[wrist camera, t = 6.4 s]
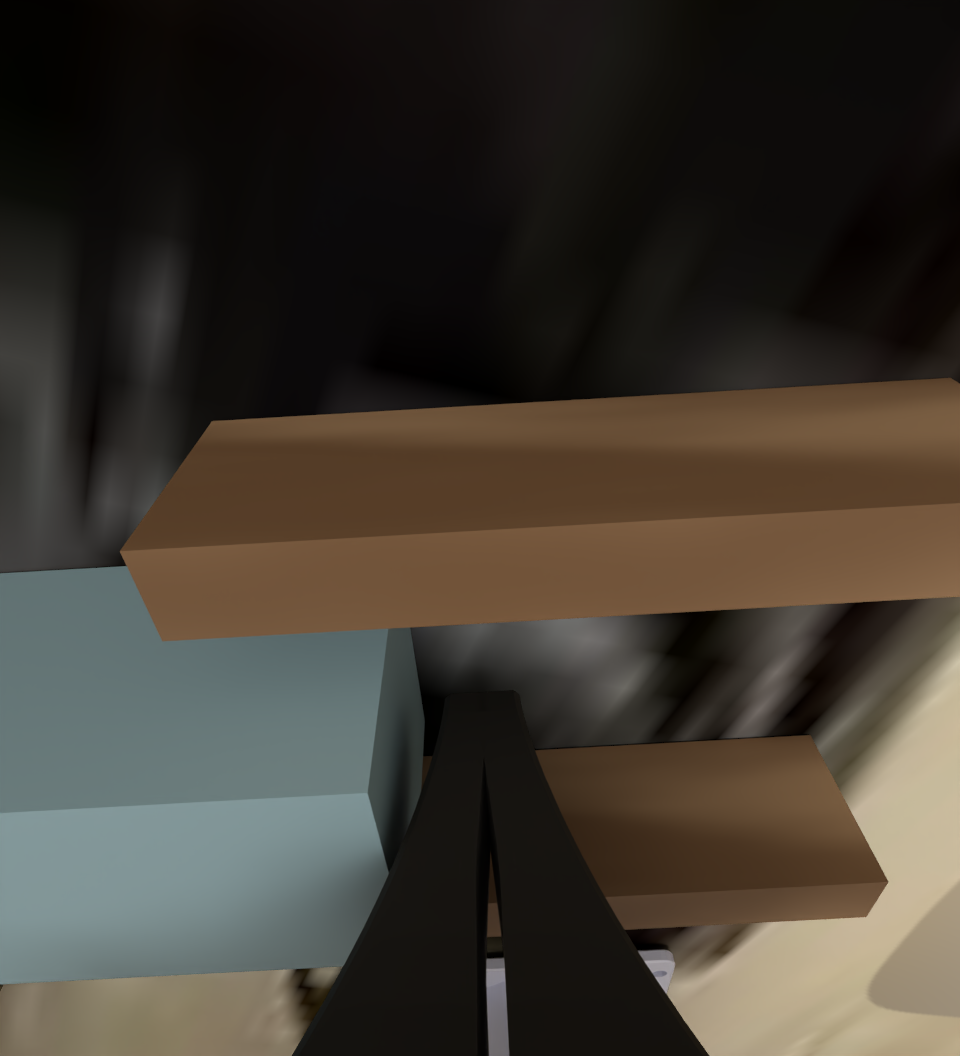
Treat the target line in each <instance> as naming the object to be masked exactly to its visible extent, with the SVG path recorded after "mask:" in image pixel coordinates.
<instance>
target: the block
mask: <svg viewBox="0 0 960 1056" xmlns="http://www.w3.org/2000/svg"><path fill="white" fill-rule="evenodd" d="M424 727H425V719H424V712H423V706H422V699H421V693H420V687H419V680H418V674H417V668H416V661H415V655H414V648H413V642H412V636H411V629H410V627H409V628H391V629H373V630H356V631H338V632H320V633H302V634H285V635H267V636H249V637H232V638H214V639H196V640H178V641H162V639H161V637H160V635H159V633H158V631H157V629H156V627H155V625H154V623H153V620H152V618H151V616H150V614H149V612H148V610H147V608H146V606H145V603H144V601H143V599H142V597H141V595H140V593H139V591H138V589H137V587H136V584H135V582H134V580H133V578H132V576H131V574H130V572H129V570H128V567H127V566H120V567H103V568H85V569H68V570H50V571H33V572H15V573H0V984H18V983H36V982H55V981H74V980H93V979H112V978H131V977H150V976H169V975H188V974H207V973H226V972H245V971H264V970H283V969H301V968H320V967H339V966H344V964H345V962H346V960H347V958H348V956H349V954H350V953H351V951H352V949H353V947H354V945H355V943H356V941H357V939H358V937H359V935H360V933H361V931H362V930H363V928H364V926H365V924H366V921H367V919H368V917H369V915H370V913H371V911H372V909H373V907H374V905H375V903H376V901H377V899H378V897H379V894H380V892H381V890H382V888H383V886H384V883H385V881H386V879H387V877H388V874H389V872H390V870H391V868H392V865H393V863H394V861H395V858H396V856H397V853H398V851H399V848H400V846H401V843H402V841H403V838H404V836H405V834H406V831H407V829H408V826H409V824H410V821H411V819H412V816H413V813H414V811H415V808H416V805H417V802H418V799H419V796H420V793H421V785H422V765H423V746H424Z"/></svg>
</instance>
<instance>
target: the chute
mask: <svg viewBox="0 0 960 1056" xmlns="http://www.w3.org/2000/svg"><path fill="white" fill-rule="evenodd" d="M120 553H121V555H122V557H123V559H124V561H125V563H126V565H127V567H128V570H129V572H130V574H131V576H132V578H133V580H134V582H135V584H136V587H137V589H138V591H139V593H140V595H141V597H142V599H143V601H144V603H145V606H146V608H147V610H148V612H149V614H150V616H151V618H152V620H153V623H154V625H155V627H156V629H157V631H158V633H159V635H160V637H161V639H162V641H178V640H196V639H214V638H232V637H249V636H267V635H285V634H302V633H320V632H338V631H356V630H373V629H391V628H409V627H427V626H444V625H462V624H480V623H498V622H515V621H533V620H551V619H569V618H586V617H604V616H622V615H639V614H657V613H675V612H693V611H710V610H728V609H746V608H764V607H781V606H799V605H817V604H835V603H852V602H870V601H888V600H905V599H923V598H941V597H959V596H960V384H959V383H958V382H956V381H954V380H953V379H951V378H940V379H923V380H906V381H888V382H871V383H854V384H837V385H820V386H803V387H786V388H769V389H752V390H735V391H718V392H701V393H684V394H667V395H650V396H633V397H616V398H599V399H582V400H565V401H548V402H531V403H514V404H497V405H480V406H463V407H446V408H428V409H411V410H394V411H377V412H360V413H343V414H326V415H309V416H292V417H275V418H258V419H241V420H224V421H212V422H211V424H210V425H209V426H208V428H207V429H206V431H205V432H204V433H203V435H202V436H201V438H200V439H199V441H198V442H197V443H196V445H195V446H194V448H193V449H192V450H191V452H190V453H189V455H188V456H187V457H186V459H185V460H184V462H183V463H182V464H181V466H180V467H179V469H178V470H177V472H176V473H175V474H174V476H173V477H172V479H171V480H170V481H169V483H168V484H167V486H166V487H165V488H164V490H163V491H162V493H161V494H160V495H159V497H158V498H157V500H156V501H155V502H154V504H153V505H152V507H151V508H150V510H149V511H148V512H147V514H146V515H145V517H144V518H143V519H142V521H141V522H140V524H139V525H138V526H137V528H136V529H135V531H134V532H133V533H132V535H131V536H130V538H129V539H128V541H127V542H126V543H125V545H124V546H123V548H122V549H121V550H120ZM535 752H536V754H537V757H538V760H539V762H540V765H541V767H542V770H543V772H544V775H545V777H546V780H547V782H548V784H549V786H550V789H551V791H552V793H553V796H554V798H555V800H556V802H557V805H558V807H559V809H560V811H561V813H562V816H563V818H564V820H565V822H566V824H567V826H568V828H569V830H570V832H571V834H572V836H573V838H574V840H575V842H576V844H577V846H578V848H579V850H580V852H581V854H582V856H583V858H584V860H585V861H586V863H587V865H588V867H589V869H590V871H591V873H592V875H593V876H594V878H595V880H596V882H597V884H598V885H599V887H600V889H601V891H602V892H603V894H604V896H605V898H606V899H607V901H608V903H609V904H610V906H611V908H612V910H613V911H614V913H615V915H616V917H617V918H618V920H619V921H620V923H621V925H622V926H623V928H624V930H629V929H647V928H666V927H685V926H704V925H723V924H742V923H760V922H779V921H798V920H817V919H836V918H855V917H866V916H867V915H868V913H869V912H870V910H871V909H872V907H873V905H874V904H875V902H876V901H877V899H878V898H879V896H880V894H881V893H882V891H883V890H884V888H885V887H886V885H887V883H888V880H887V878H886V877H885V875H884V873H883V871H882V869H881V867H880V865H879V863H878V862H877V860H876V858H875V856H874V854H873V852H872V850H871V848H870V847H869V845H868V843H867V841H866V839H865V837H864V835H863V833H862V831H861V830H860V828H859V826H858V824H857V822H856V820H855V818H854V816H853V815H852V813H851V811H850V809H849V807H848V805H847V803H846V801H845V800H844V798H843V796H842V794H841V792H840V790H839V788H838V786H837V785H836V783H835V781H834V779H833V777H832V775H831V773H830V771H829V770H828V768H827V766H826V764H825V762H824V760H823V758H822V756H821V755H820V753H819V751H818V749H817V747H816V745H815V743H814V741H813V740H812V738H811V736H810V735H803V736H785V737H766V738H748V739H730V740H712V741H694V742H676V743H657V744H639V745H621V746H603V747H585V748H566V749H548V750H535ZM431 760H432V756H423V765H422V785H421V790H422V787H423V784H424V781H425V779H426V776H427V773H428V770H429V766H430V763H431ZM497 936H501V929H500V921H499V913H498V905H497V897H496V890H495V882H494V874H493V866H492V858H491V853H490V878H489V903H488V928H487V937H497Z"/></svg>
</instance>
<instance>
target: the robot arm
mask: <svg viewBox="0 0 960 1056" xmlns="http://www.w3.org/2000/svg"><path fill="white" fill-rule="evenodd" d="M490 853H491V858H492V866H493V874H494V882H495V890H496V897H497V905H498V913H499V921H500V929H501V937H502V945H503V953H504V957H502V958H487V928H488V903H489V878H490ZM674 968H675V962H674V958H673V954H672V953H671V952H670V951H668V950H665V949H653V950H637V949H636V948H635V946H634V944H633V943H632V941H631V939H630V938H629V936H628V934H627V933H626V931H625V930H624V928H623V926H622V925H621V923H620V921H619V920H618V918H617V917H616V915H615V913H614V911H613V910H612V908H611V906H610V904H609V903H608V901H607V899H606V898H605V896H604V894H603V892H602V891H601V889H600V887H599V885H598V884H597V882H596V880H595V878H594V876H593V875H592V873H591V871H590V869H589V867H588V865H587V863H586V861H585V860H584V858H583V856H582V854H581V852H580V850H579V848H578V846H577V844H576V842H575V840H574V838H573V836H572V834H571V832H570V830H569V828H568V826H567V824H566V822H565V820H564V818H563V816H562V813H561V811H560V809H559V807H558V805H557V802H556V800H555V798H554V796H553V793H552V791H551V789H550V786H549V784H548V782H547V780H546V777H545V775H544V772H543V770H542V767H541V765H540V762H539V760H538V757H537V754H536V752H535V749H534V746H533V743H532V741H531V738H530V735H529V731H528V728H527V725H526V722H525V718H524V714H523V710H522V706H521V701H520V695H519V694H518V693H516V692H515V691H513V690H512V691H493V692H474V693H455V694H450V695H449V696H447V697H446V698H445V701H444V709H443V715H442V720H441V725H440V730H439V734H438V738H437V742H436V746H435V749H434V753H433V756H432V760H431V763H430V766H429V770H428V773H427V776H426V779H425V781H424V784H423V787H422V790H421V793H420V796H419V799H418V802H417V805H416V808H415V811H414V813H413V816H412V819H411V821H410V824H409V826H408V829H407V831H406V834H405V836H404V838H403V841H402V843H401V846H400V848H399V851H398V853H397V856H396V858H395V861H394V863H393V865H392V868H391V870H390V872H389V874H388V877H387V879H386V881H385V883H384V886H383V888H382V890H381V892H380V894H379V897H378V899H377V901H376V903H375V905H374V907H373V909H372V911H371V913H370V915H369V917H368V919H367V921H366V924H365V926H364V928H363V930H362V931H361V933H360V935H359V937H358V939H357V941H356V943H355V945H354V947H353V949H352V951H351V953H350V954H349V956H348V958H347V960H346V962H345V964H344V966H343V968H342V970H341V972H340V974H339V975H338V977H337V979H336V981H335V983H334V984H333V986H332V988H331V990H330V992H329V993H328V995H327V997H326V999H325V1001H324V1002H323V1004H322V1006H321V1007H320V1009H319V1011H318V1012H317V1014H316V1016H315V1018H314V1019H313V1021H312V1023H311V1024H310V1026H309V1028H308V1029H307V1031H306V1033H305V1034H304V1036H303V1038H302V1039H301V1041H300V1043H299V1044H298V1046H297V1048H296V1050H295V1051H294V1053H293V1055H292V1056H709V1055H708V1053H707V1052H706V1050H705V1049H704V1048H703V1046H702V1045H701V1044H700V1042H699V1041H698V1039H697V1038H696V1037H695V1035H694V1034H693V1032H692V1031H691V1030H690V1028H689V1027H688V1025H687V1024H686V1023H685V1021H684V1020H683V1018H682V1017H681V1015H680V1014H679V1012H678V1011H677V1009H676V1008H675V1006H674V1005H673V1003H672V1002H671V1000H670V999H669V997H668V996H667V991H668V988H669V984H670V981H671V978H672V974H673V971H674Z"/></svg>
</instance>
